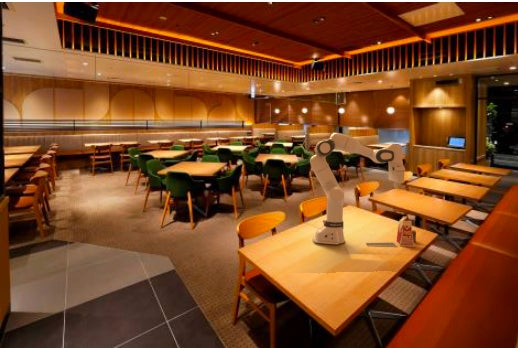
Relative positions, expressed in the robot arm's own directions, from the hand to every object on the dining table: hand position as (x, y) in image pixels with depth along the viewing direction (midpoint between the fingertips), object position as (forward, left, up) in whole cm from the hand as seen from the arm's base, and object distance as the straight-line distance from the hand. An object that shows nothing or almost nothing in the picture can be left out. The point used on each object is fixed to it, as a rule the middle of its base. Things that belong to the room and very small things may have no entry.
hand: (395, 187), depth 193 cm
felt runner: (-10, -2, -39) cm, 40 cm away
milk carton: (+7, 0, -39) cm, 40 cm away
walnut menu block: (+13, +6, -39) cm, 42 cm away
